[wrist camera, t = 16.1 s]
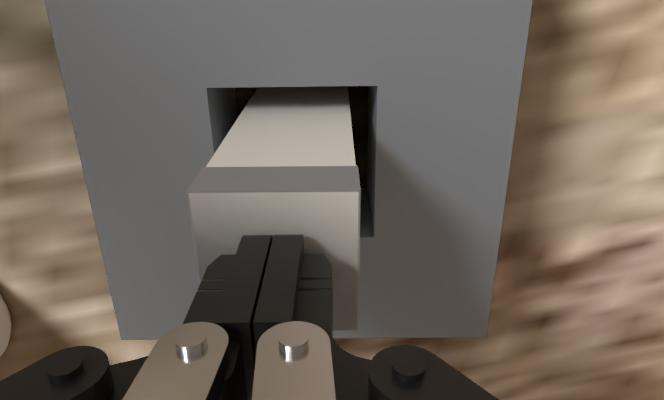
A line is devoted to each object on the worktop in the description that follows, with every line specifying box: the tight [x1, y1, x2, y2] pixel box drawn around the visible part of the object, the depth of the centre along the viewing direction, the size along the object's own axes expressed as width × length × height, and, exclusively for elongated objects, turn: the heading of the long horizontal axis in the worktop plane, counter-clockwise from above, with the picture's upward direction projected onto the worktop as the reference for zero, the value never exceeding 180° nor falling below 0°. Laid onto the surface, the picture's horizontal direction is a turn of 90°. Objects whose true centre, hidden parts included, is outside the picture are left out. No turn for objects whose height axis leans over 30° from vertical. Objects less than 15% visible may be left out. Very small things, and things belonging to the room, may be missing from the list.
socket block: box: [45, 0, 533, 340], centre depth 22 cm, size 16×16×5 cm
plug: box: [186, 86, 361, 331], centre depth 18 cm, size 4×4×12 cm
